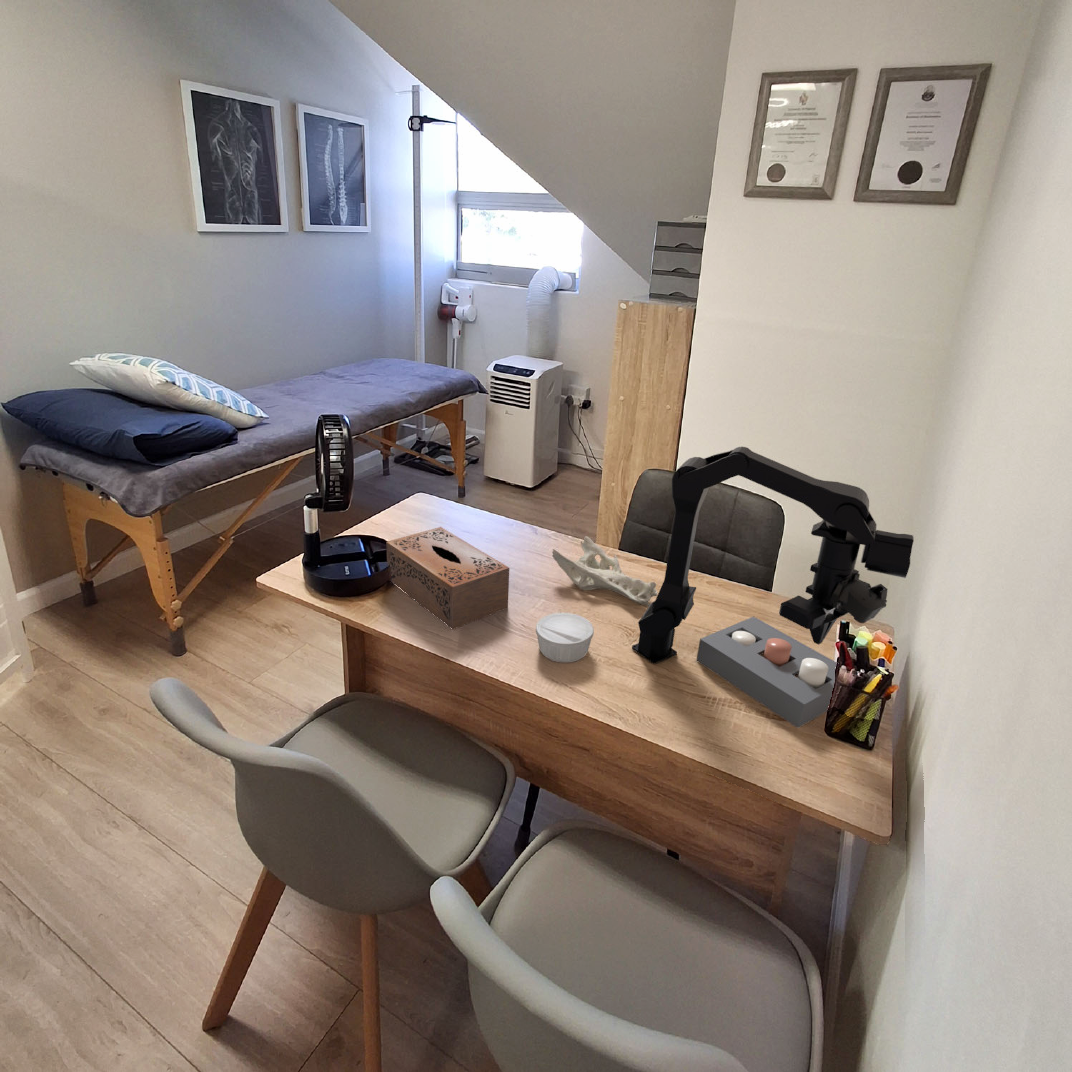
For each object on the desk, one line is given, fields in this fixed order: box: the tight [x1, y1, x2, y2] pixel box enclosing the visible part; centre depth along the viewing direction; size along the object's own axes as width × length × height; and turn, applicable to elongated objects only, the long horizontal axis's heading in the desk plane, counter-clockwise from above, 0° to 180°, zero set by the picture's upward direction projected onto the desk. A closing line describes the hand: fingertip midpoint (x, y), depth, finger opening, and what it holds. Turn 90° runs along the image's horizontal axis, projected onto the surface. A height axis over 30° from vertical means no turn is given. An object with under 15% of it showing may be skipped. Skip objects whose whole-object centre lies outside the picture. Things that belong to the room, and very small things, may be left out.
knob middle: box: [762, 638, 792, 667], centre depth 126 cm, size 4×4×4 cm
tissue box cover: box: [385, 526, 510, 630], centre depth 149 cm, size 26×14×10 cm, turn 41°
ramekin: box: [535, 612, 595, 664], centre depth 132 cm, size 11×11×5 cm
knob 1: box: [732, 631, 756, 647], centre depth 132 cm, size 4×4×4 cm
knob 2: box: [797, 658, 828, 689], centre depth 120 cm, size 4×4×4 cm
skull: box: [551, 535, 659, 607], centre depth 155 cm, size 12×8×25 cm
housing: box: [696, 616, 838, 729], centre depth 127 cm, size 16×23×5 cm
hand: (817, 642), depth 118 cm, fingers closed
